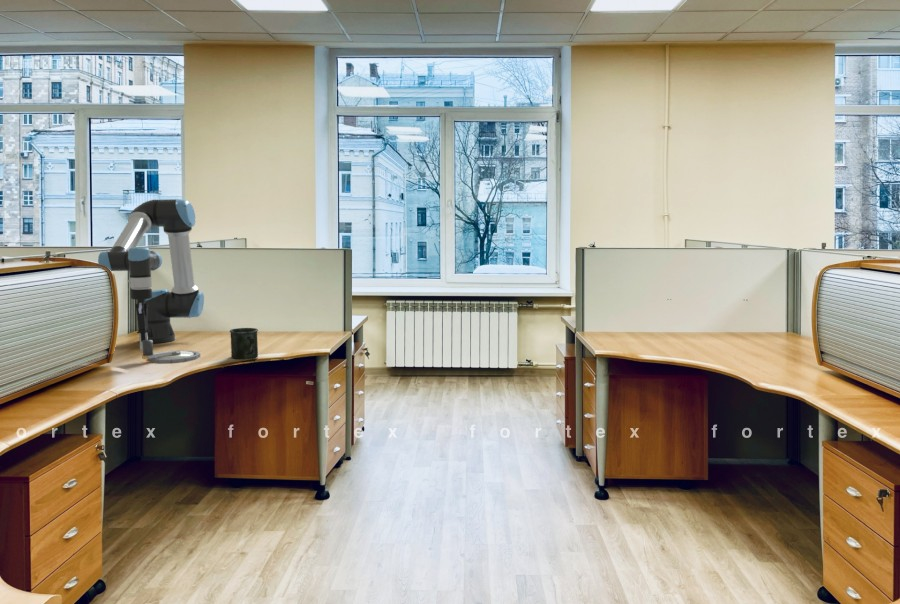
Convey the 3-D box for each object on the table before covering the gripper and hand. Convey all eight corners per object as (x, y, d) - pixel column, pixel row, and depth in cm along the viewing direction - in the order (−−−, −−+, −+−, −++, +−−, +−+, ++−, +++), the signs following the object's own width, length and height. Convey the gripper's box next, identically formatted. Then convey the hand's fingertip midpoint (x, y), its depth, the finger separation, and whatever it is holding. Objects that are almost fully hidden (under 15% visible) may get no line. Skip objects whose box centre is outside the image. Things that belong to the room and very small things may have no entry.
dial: (181, 353, 288) (180, 332, 287) (200, 357, 279) (200, 336, 278) (134, 360, 272) (133, 339, 271) (153, 365, 264) (152, 343, 263)
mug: (252, 356, 288) (251, 326, 287) (267, 361, 277) (266, 331, 275) (226, 359, 281) (225, 329, 280) (240, 365, 270) (239, 334, 269)
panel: (126, 367, 265) (126, 361, 265) (155, 354, 291) (155, 348, 291) (196, 367, 265) (195, 361, 265) (218, 354, 291) (218, 349, 291)
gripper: (132, 287, 274) (135, 347, 277) (127, 290, 262) (131, 353, 265) (153, 286, 276) (156, 346, 279) (149, 289, 264) (152, 352, 267)
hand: (144, 349), depth 272 cm, fingers closed
